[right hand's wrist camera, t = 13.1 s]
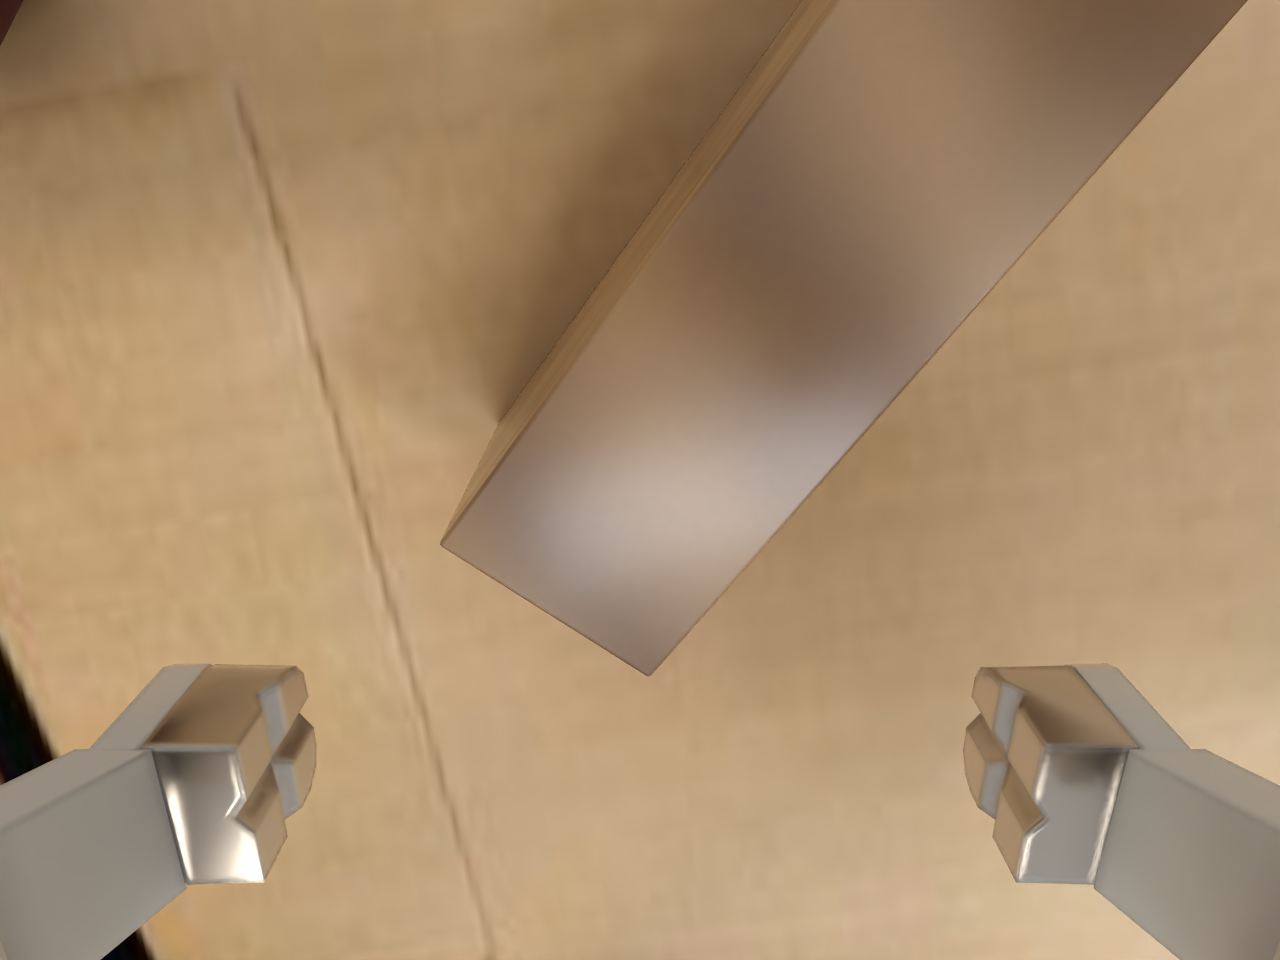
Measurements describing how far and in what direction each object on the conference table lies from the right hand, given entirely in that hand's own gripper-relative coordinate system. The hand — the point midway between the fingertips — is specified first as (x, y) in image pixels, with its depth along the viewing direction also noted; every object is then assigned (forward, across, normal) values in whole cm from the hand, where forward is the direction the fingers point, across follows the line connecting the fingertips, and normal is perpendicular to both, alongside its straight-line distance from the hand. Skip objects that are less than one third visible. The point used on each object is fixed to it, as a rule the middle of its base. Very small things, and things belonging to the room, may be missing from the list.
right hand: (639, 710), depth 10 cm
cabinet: (+16, -4, -4) cm, 17 cm away
